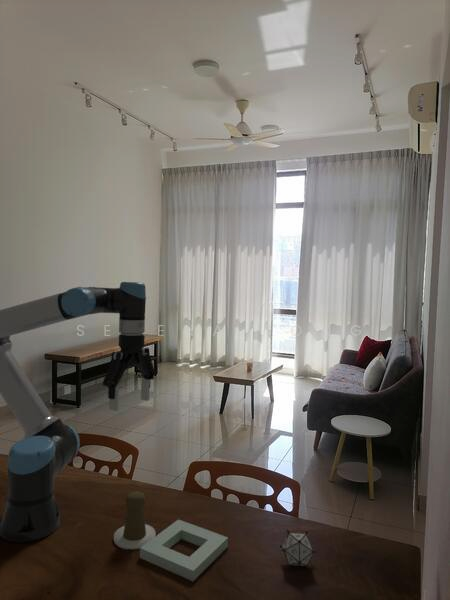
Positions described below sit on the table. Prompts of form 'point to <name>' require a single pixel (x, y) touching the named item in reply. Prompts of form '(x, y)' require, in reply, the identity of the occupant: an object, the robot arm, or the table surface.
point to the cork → (135, 517)
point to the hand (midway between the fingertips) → (129, 404)
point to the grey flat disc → (133, 545)
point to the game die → (297, 549)
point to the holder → (178, 562)
